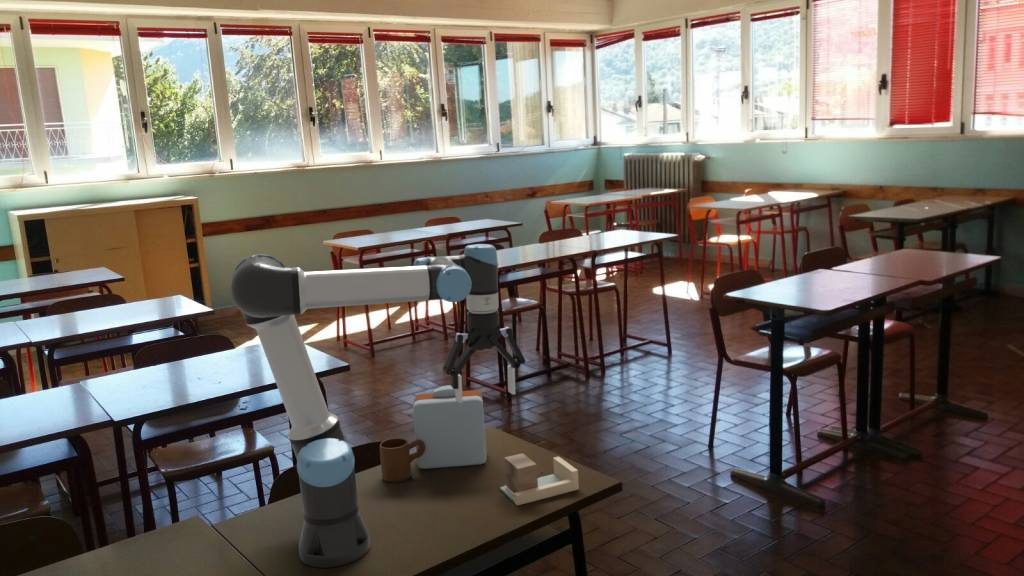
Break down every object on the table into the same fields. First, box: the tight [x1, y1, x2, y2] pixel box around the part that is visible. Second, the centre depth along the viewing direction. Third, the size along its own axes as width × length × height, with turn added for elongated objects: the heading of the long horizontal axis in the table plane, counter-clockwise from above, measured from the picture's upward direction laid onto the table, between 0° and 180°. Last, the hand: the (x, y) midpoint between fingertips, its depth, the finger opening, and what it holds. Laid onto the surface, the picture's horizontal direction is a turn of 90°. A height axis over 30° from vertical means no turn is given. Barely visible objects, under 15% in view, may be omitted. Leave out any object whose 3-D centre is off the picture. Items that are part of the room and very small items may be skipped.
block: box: [504, 453, 539, 493], centre depth 198 cm, size 8×5×8 cm, turn 24°
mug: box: [379, 437, 425, 483], centre depth 212 cm, size 12×8×9 cm, turn 112°
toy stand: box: [499, 456, 580, 506], centre depth 200 cm, size 17×10×5 cm, turn 114°
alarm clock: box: [412, 384, 488, 469], centre depth 219 cm, size 18×9×21 cm, turn 93°
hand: (485, 397), depth 195 cm, fingers open, 13 cm apart
